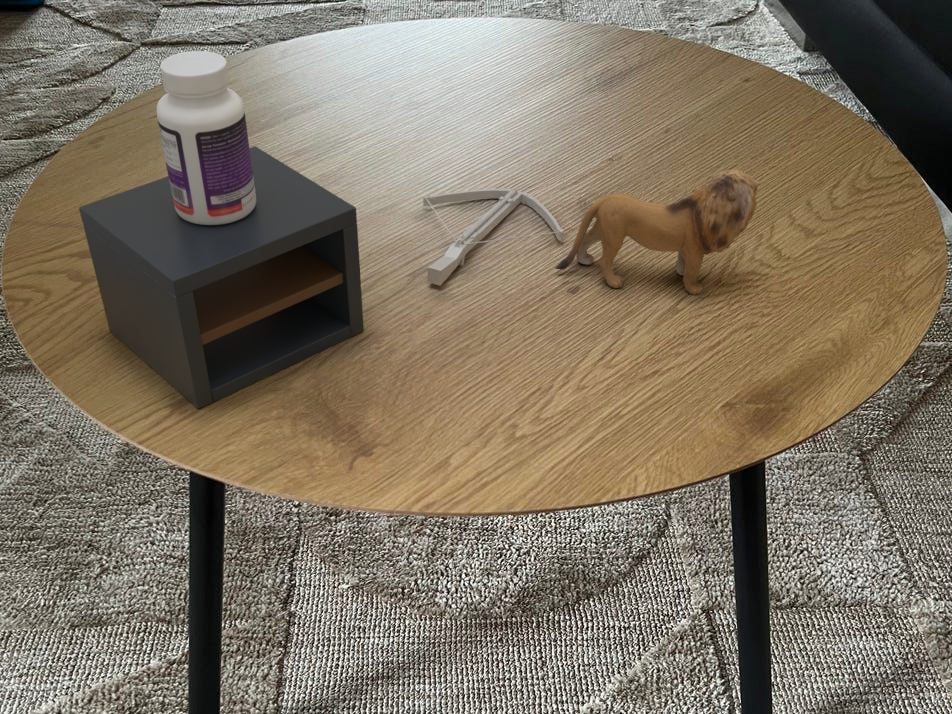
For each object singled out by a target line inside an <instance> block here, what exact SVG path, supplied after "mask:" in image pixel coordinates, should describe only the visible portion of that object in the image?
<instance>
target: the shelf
mask: <svg viewBox="0 0 952 714" xmlns="http://www.w3.org/2000/svg"><path fill="white" fill-rule="evenodd" d="M249 149H250V156H251V163H252V170H253V177H254V184H255V191H256V205H255V207H254V209H253V210H252V211H251V212H250V213H249V214H248V215H247V216H245V217H244V218H242V219H240V220H237V221H235V222H231V223H227V224H221V225H200V224H195V223H191V222H188V221H186V220H184V219H183V218H181V217H180V216H179V215H178V213H177V212H176V209H175V206H174V202H173V197H172V192H171V187H170V182H169V177H168V176H165V177H161V178H159V179H156V180H154V181H150V182H147V183H144V184H142V185H139V186H137V187H133V188H129V189H127V190H125V191H122V192H118V193H116V194H113V195H110V196H107V197H104V198H101V199H99V200H95V201H92V202H89V203H87V204H84V205H81V206H79V207H78V210H79V214H80V218H81V222H82V227H83V231H84V234H85V237H86V242H87V245H88V250H89V253H90V258H91V261H92V265H93V269H94V270H93V271H94V275H95V277H96V282H97V285H98V290H99V294H100V298H101V301H102V305H103V309H104V313H105V317H106V321H107V325H108V330H109V332H110V333H111V334H112V335H114V337H116V338H117V339H118V340H119V341H120V342H122V343H123V344H124V346H126V347H127V348H128V349H129V350H130V351H132V352H133V353H134V354H135V355H136V356H137V357H139V358H140V359H141V360H142V361H143V362H144V363H145V364H146V365H148V366H149V368H151V369H152V370H153V371H155V372H156V373H157V374H158V375H159V376H160V377H161V378H162V379H163V380H165V382H167V383H168V384H170V386H172V388H173V389H175V390H176V391H177V392H178V393H179V394H180V395H182V396H183V397H184V398H185V399H186V400H187V401H189V402H190V403H191V404H192V405H193V406H194V407H195V408H196V409H198V410H200V409H202V408H204V407H206V406H209V405H210V404H212V403H215V402H217V401H219V400H221V399H223V398H225V397H228V396H230V395H232V394H234V393H236V392H238V391H240V390H242V389H245V388H246V387H249V386H251V385H253V384H255V383H257V382H259V381H261V380H263V379H266V378H267V377H269V376H272V375H274V374H276V373H278V372H280V371H282V370H284V369H286V368H289V367H290V366H294V365H295V364H296V363H299V362H301V361H304V360H305V359H308V358H310V357H311V356H313V355H316V354H317V353H320V352H322V351H324V350H326V349H328V348H330V347H332V346H335V345H337V344H339V343H341V342H343V341H345V340H347V339H349V338H351V337H354V336H355V335H358V334H361V333H362V332H364V331H365V329H364V328H365V327H364V314H363V313H364V312H363V298H362V297H363V296H362V295H363V294H362V281H361V280H362V279H361V265H360V264H361V263H360V251H359V250H360V248H359V231H358V230H359V229H358V218H357V208H356V207H355V206H354V205H352V204H351V203H349V202H347V201H346V200H344V199H343V198H341V197H339V196H338V195H336V194H334V193H333V192H331V191H329V190H328V189H326V188H325V187H323V186H321V185H320V184H318V183H316V182H315V181H313V180H312V179H310V178H309V177H306V176H305V175H303V174H301V173H300V172H298V171H297V170H295V169H294V168H292V167H290V166H288V165H287V164H285V163H284V162H282V161H280V160H279V159H277V158H276V157H274V156H272V155H271V154H269V153H267V152H266V151H264V150H262V149H260V148H259V147H257V146H251V147H249Z"/></svg>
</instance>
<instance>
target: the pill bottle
mask: <svg viewBox="0 0 952 714" xmlns="http://www.w3.org/2000/svg"><path fill="white" fill-rule="evenodd" d="M160 73H161V79H162V84H163V89H164V91H165V92H166V93H165V94H164V95H163V96H161V98H160V99H159V101H158V103H157V105H156V118H157V123H158V129H159V135H160V139H161V145H162V150H163V155H164V160H165V165H166V166H165V167H166V173H167V177H169V182H170V187H171V192H172V197H173V202H174V206H175V209H176V212H177V213H178V215H179V216H180V217H181V218H183V219H184V220H186V221H188V222H191V223H195V224H200V225H221V224H227V223H231V222H235V221H237V220H240V219H242V218H244V217H245V216H247V215H248V214H249V213H250V212H251V211H252V210H253V209H254V207H255V205H256V191H255V184H254V177H253V170H252V163H251V156H250V149H249V148H250V142H249V135H248V127H247V126H248V125H247V118H246V112H245V106H244V102H243V100H242V98H241V96H240V95H239V94H238V93H237V92H236V91H234V90H233V89H231V88H229V87H230V74H229V68H228V61H227V59H226V57H224V55H221V54H219V53H216V52H213V51H207V50H206V51H204V50H191V51H190V50H189V51H183V52H177V53H174V54H171V55H170V56H168V57H166V58H164V59H163V60H162V61H161V63H160Z"/></svg>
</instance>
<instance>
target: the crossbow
mask: <svg viewBox="0 0 952 714" xmlns="http://www.w3.org/2000/svg"><path fill="white" fill-rule="evenodd" d="M422 198H423V199H422V202H423V203H422V206H423V207H430V208H431V209H432V211H433V212H434V213H435V215H436V217H438V219H439V220H440V222H441V223H442V225H443V226H444V227H445V229H446V230H447V232H448V233H449V235H450V236H451V238H452V240H453V241H454V242H452V244H450V245H449V247H448V249H447V250H446V252H445V253H444V255H443V256H442V257H440V258H438V259H437V260H436V261H435V262H433V263H432V264H430V265H429V266H427V283H428V284H429V283H430V284H432V285H437V286H442V285H443V283H444V282H445V281H446V280H447V279H448V278H449V277H450V276H451V275H452V273H453V272H454V271H455V270H456V269H457V267H459V266H460V267H464V264H465V258H466V257H465V256H466V254H468V253H469V252H470V251H471V250H472V249H473V248H474V247H476V245H478V244H483V243H490V242H498V241H499V242H500V241H506V240H513V239H520V238H521V239H523V238H530V237H537V236H545V235H552V234H554V235H555V236H556V238H557V240H558V241H559V242H562V241H563V240H564V233H565V232H564V231H565V230H564V229H563V228H561V226H560V225H559V222H557V220H556V218H555V217H554V216H553V214H552V213H551V212H550V211H549V209H548V208H546V206H545V205H544V204H543V203H541V201H539V200H538V199H537V198H536V197H534V196H532V195H530V194H529V193H528V192H526V191H520V190H517V189H516V188H509V187H508V188H497V187H495V188H479V189H471V190H462V191H461V190H460V191H454V192H452V191H451V192H447V193H441V194H434V195H425V196H424V197H422ZM486 199H498V201H497V202H496V203H495V204H494V205H493V206H492V207H491V208H490V209H489V210H488V211H486V212H485V213H484V214H483V215H482V216H481V217H480V218H479V219H478V220H477V221H476V222H475V223H473V224H472V225H471V226H470V227H469V228H468V229H466V230H465V231H463V232H462V233H461V235H460V236H458V238H457V239H456V238H455V237H454V235H453V234H452V232H451V231H450V230H449V228H448V227H447V225H446V223H445V222H444V221H443V220H442V218H441V216H440V215H439V213H438V212H437V211H436V209H435V207H433V206H437V205H442V204H449V203H456V202H464V201H473V200H486ZM520 204H523V205H526V206H527V207H530V208H531V209H533V210H534V211H535V212H536V213H537V214H538V215H539V216H540V217H541V218H542V219H543V220H544V221H545V222H546V224H548V226H549V227H550V228H551V230H552V232H543V233H537V234H536V233H535V234H530V235H522V236H515V237H513V236H512V237H506V238H497V239H489V240H483V239H484V238H485V237H486V236H487V235H488V234H489V233H490V232H491V231H492V230H493V229H494V228H496V226H498V224H499V223H501V221H503V220H504V218H506V217H507V216H508V215H509V214H510V213H511V212H512V211H513V210H514V209H516V208H517V206H519V205H520ZM482 240H483V241H482Z"/></svg>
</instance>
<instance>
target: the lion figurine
mask: <svg viewBox="0 0 952 714" xmlns="http://www.w3.org/2000/svg"><path fill="white" fill-rule="evenodd" d="M758 187H759V181H758V180H757V179H753V178H752V176H751V175H750V174H747V173H745V172H744V171H742V170H740V169H728V170H726V171H724V170H722V171H720V172H718V173H714V174H713V175H712V177H711V183H709V184H708V185H705V186H702V187H701V188H699V189H697V190H695V191H694V192H692V193H691V194H689V195H688V196H686V197H684V198H682V199H680V200H679V201H677V202H675V203H656V202H650V201H645V200H641V199H639V198H637V197H636V196H635V197H634V196H632V195H630V194H626V193H622V192H619V193H618V192H617V193H612V194H609V195H606V196H602V197H600V198H599V199H597V200H596V201H595V202H593V203H592V204H591V205H590V207H589V208H588V210H586V212H585V214H584V216H583V218H582V220H581V222H580V225H579V228H578V231H577V233H576V236H575V239H574V243H573V245H572V248H571V250H570V251H569V253H568V254H567V256H566V257H565V258H563V259H562V260H561V261H560V262H559V263H558V264H557V265H556V266H555V268H554V269H556V270H560V271H561V270H566V269H567V268H568V267H569V266H570V265H571V264H572V262H573V261H574V260H575V258H576V261H577V262H578V263H580V264H582V265H591V264H593V262H594V259H595V257H594V256H593V255H592V254H591V253H588V250H589V248H590V247H592V246H593V245H594V244H596V243H598V242H600V243H601V247H602V253H601V257H600V259H599V261H598V262H599V263H598V264H599V267H600V269H601V272H602V273H603V275H604V276H603V277H604V279H605V281H606V283H607V285H608V286H609V287H611V288H614V289H619V288H622V287H623V285H624V279H623V277H622V276H621V275H617V274H615V273H614V269H613V264H614V260H615V258H616V257H617V255H618V253H620V250H621V249H622V247H623V244H624V240H625V238H626V237H627V236H628V237H629V238H630V239H632V240H633V241H634V242H635V243H636V244H638V245H639V246H641V247H643V248H645V249H647V250H649V251H650V250H651V251H654V252H659V253H660V252H661V253H662V252H663V253H673V252H674V253H676V252H677V259H676V262H675V268H676V272H677V274H678V275H680V276H683V278H682V281H683V284H684V289H685V291H687V292H688V293H689V294H691V295H699V294H700V293H701V292H702V290H703V287H702V285H701V283H699V282H697V281H696V279H697V277H698V275H699V273H700V270H701V267H702V265H703V261H704V256H706V255H710V254H712V253H722V252H724V250H726V249H728V248H730V246H731V245H732V244H733V242H734V241H735V238H737V237H739V236H740V234H742V233H743V232H745V230H746V229H747V228H748V226H749V223H750V221H751V220H752V218H753V217H754V214H755V211H756V208H757V205H758V204H757V191H758ZM594 218H595V221H594V224H592V227H590V225H591V223H592V222H593V219H594ZM589 227H590V229H589ZM588 229H589V230H588Z"/></svg>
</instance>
